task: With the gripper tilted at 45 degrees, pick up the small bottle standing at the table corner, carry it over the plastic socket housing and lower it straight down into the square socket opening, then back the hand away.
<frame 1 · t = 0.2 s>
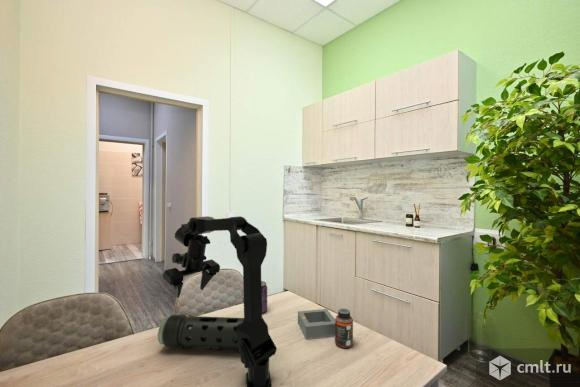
hand: (189, 293, 94), 16 cm above the table, tool pointing down, fingers open, 9 cm apart
muzzle brake: (205, 349, 88), on the table
supplement bottle: (343, 344, 91), on the table
beverage can: (258, 311, 115), on the table
socket housing: (317, 329, 100), on the table
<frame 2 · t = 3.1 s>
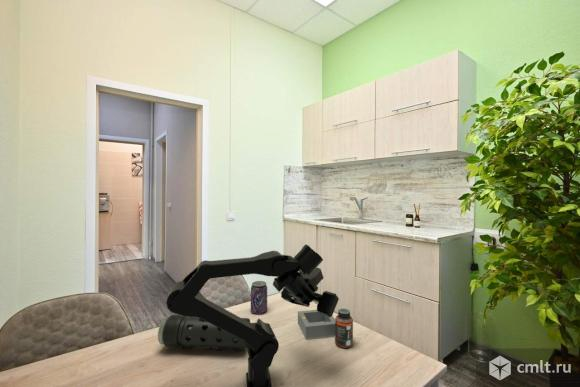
hand: (320, 309, 85), 14 cm above the table, tool tilted 45°, fingers open, 9 cm apart
nothing on the table moved.
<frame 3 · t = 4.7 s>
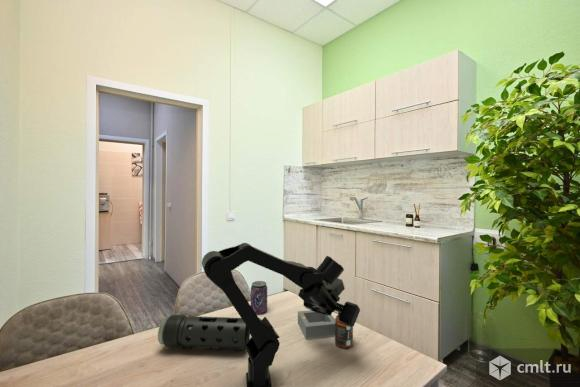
hand: (340, 318, 89), 9 cm above the table, tool tilted 45°, fingers open, 9 cm apart
nothing on the table moved.
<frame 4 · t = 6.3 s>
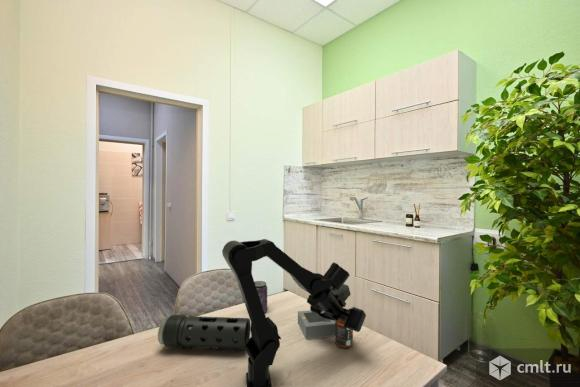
hand: (346, 323, 91), 7 cm above the table, tool tilted 45°, fingers closed on supplement bottle, 6 cm apart
supplement bottle: (343, 344, 91), on the table, touching gripper
everything else where it was.
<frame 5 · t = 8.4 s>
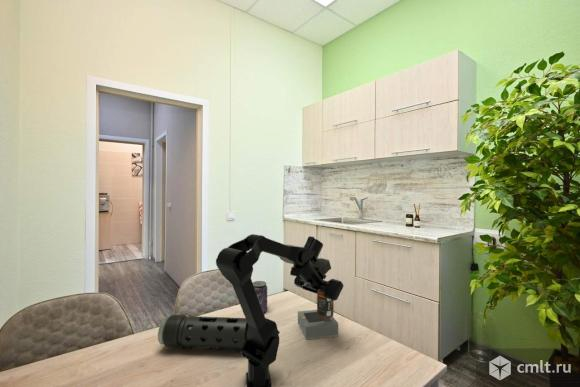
hand: (327, 296, 98), 13 cm above the table, tool tilted 45°, fingers closed on supplement bottle, 6 cm apart
supplement bottle: (325, 316, 97), point 6 cm above the table, touching gripper
everything else where it was.
when the fingers open (8 cm above the table, at t = 10.5 s): supplement bottle stays where it is, resting on socket housing.
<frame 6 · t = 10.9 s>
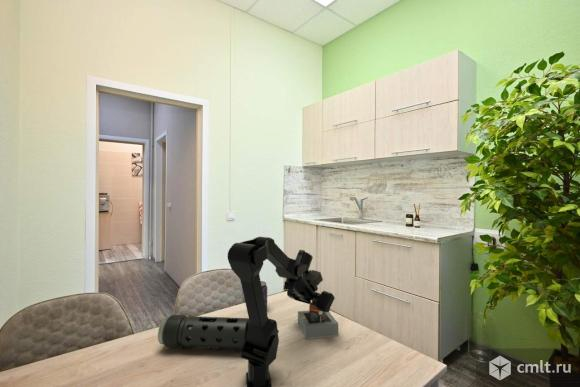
hand: (319, 306, 101), 8 cm above the table, tool tilted 45°, fingers open, 9 cm apart
supplement bottle: (316, 328, 100), resting on socket housing
everything else where it was.
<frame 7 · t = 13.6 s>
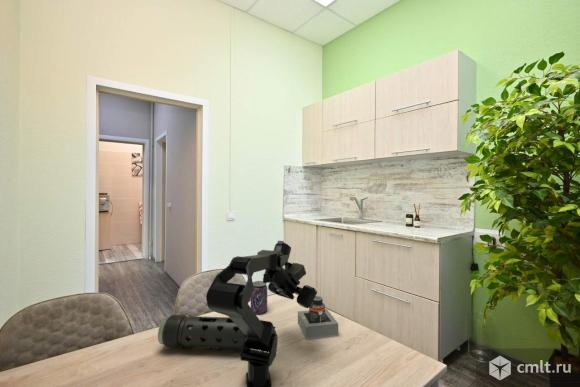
hand: (302, 302, 94), 13 cm above the table, tool tilted 45°, fingers open, 9 cm apart
nothing on the table moved.
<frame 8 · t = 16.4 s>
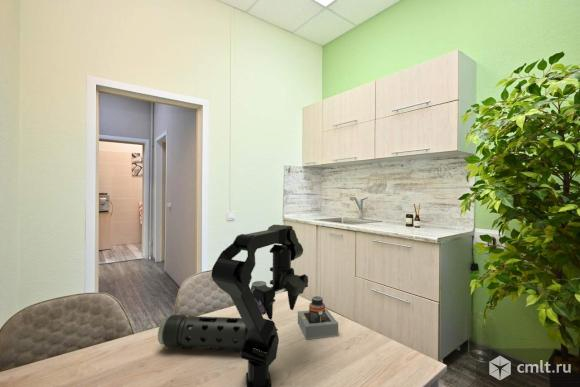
hand: (281, 314, 84), 13 cm above the table, tool pointing down, fingers open, 9 cm apart
nothing on the table moved.
at the end: supplement bottle 0.2 cm off-centre on the socket housing, point 0.3 cm above the socket housing's base; supplement bottle tilted 0°; the gripper is holding nothing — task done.
